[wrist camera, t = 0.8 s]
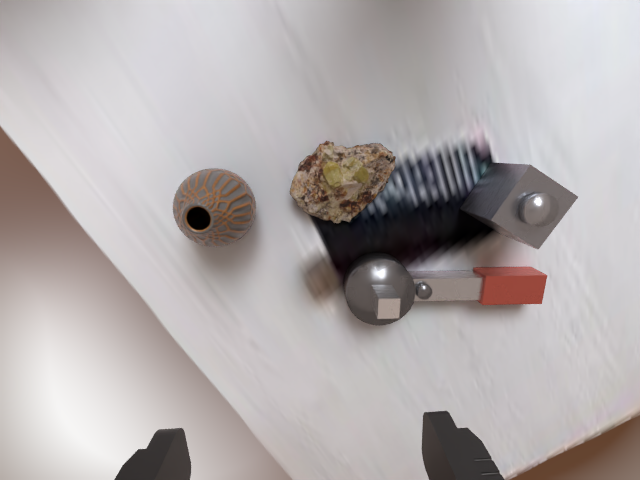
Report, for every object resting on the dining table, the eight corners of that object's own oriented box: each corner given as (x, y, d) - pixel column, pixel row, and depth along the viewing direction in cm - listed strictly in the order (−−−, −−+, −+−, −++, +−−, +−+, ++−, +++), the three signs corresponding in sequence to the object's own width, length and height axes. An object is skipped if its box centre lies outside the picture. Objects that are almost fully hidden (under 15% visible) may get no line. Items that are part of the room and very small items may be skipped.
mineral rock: (314, 245, 32) (278, 174, 28) (307, 226, 36) (275, 161, 32) (414, 200, 32) (392, 122, 28) (396, 185, 36) (376, 114, 32)
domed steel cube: (491, 162, 33) (538, 165, 26) (531, 189, 34) (587, 198, 27) (459, 208, 34) (497, 222, 27) (499, 233, 35) (546, 252, 28)
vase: (272, 215, 34) (261, 237, 25) (215, 246, 34) (184, 277, 26) (237, 154, 32) (212, 154, 23) (177, 187, 32) (131, 199, 24)
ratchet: (344, 252, 35) (351, 273, 29) (533, 250, 36) (579, 270, 30) (342, 312, 37) (350, 343, 31) (523, 308, 37) (564, 338, 31)
